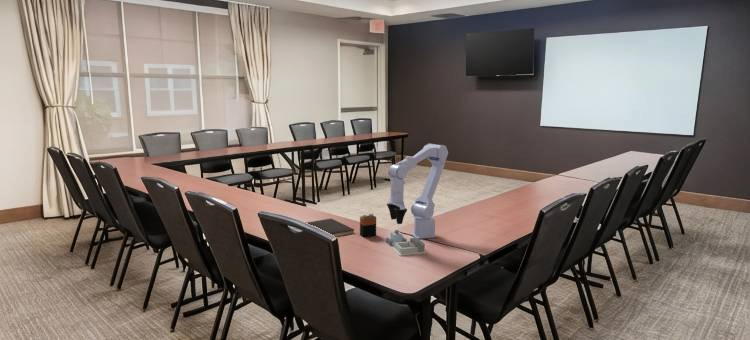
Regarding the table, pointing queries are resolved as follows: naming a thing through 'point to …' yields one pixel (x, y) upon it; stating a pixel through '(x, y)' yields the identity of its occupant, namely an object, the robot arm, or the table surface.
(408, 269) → the table surface
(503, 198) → the table surface
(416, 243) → the port
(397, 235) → the plug
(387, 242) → the holster
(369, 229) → the battery
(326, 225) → the hardcover book
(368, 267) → the table surface
